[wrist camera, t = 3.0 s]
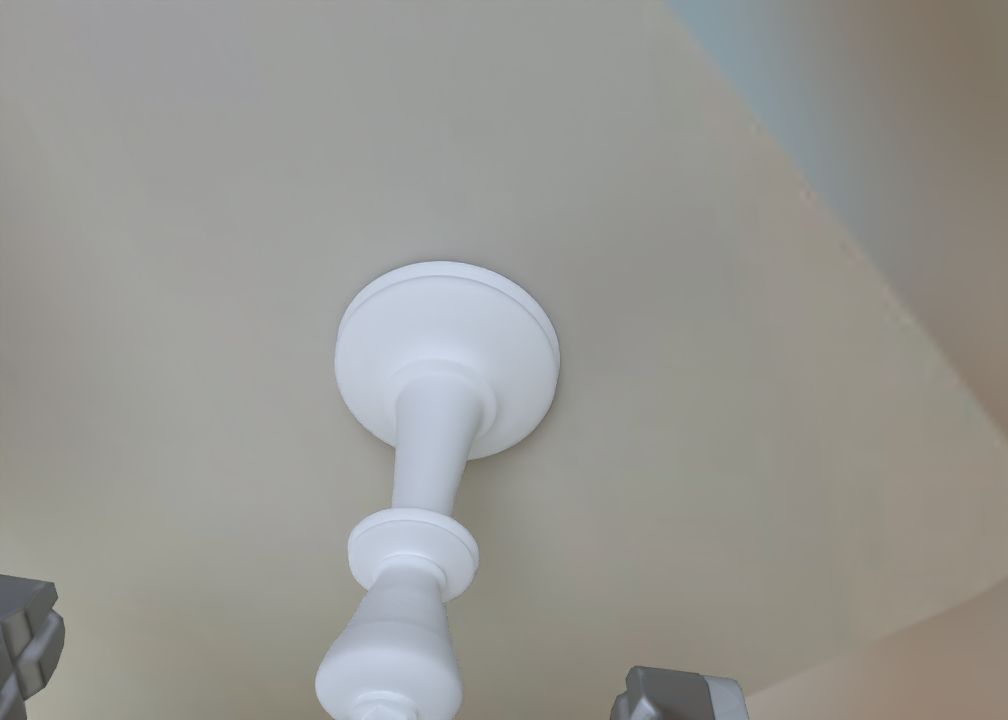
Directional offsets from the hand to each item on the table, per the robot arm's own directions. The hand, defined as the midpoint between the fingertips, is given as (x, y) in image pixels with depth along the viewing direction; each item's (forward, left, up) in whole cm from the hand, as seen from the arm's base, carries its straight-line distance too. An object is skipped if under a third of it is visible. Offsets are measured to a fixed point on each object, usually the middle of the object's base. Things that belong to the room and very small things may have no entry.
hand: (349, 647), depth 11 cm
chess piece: (-1, 0, -8) cm, 8 cm away
